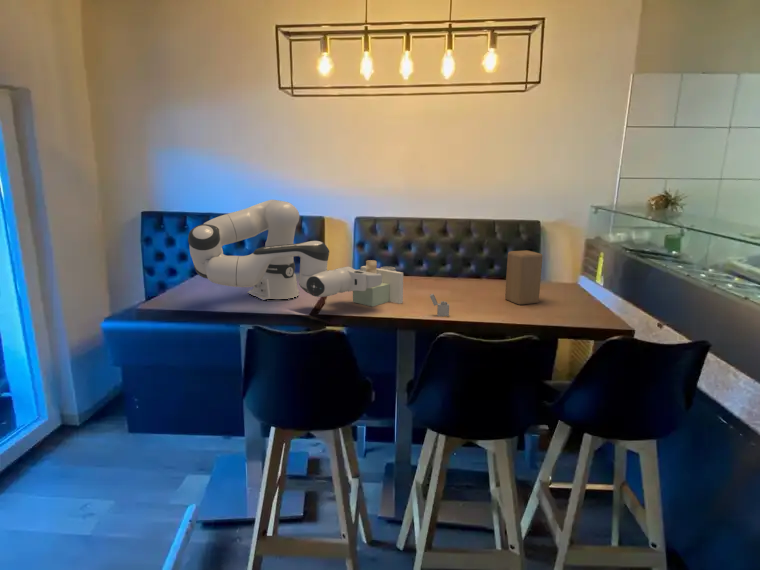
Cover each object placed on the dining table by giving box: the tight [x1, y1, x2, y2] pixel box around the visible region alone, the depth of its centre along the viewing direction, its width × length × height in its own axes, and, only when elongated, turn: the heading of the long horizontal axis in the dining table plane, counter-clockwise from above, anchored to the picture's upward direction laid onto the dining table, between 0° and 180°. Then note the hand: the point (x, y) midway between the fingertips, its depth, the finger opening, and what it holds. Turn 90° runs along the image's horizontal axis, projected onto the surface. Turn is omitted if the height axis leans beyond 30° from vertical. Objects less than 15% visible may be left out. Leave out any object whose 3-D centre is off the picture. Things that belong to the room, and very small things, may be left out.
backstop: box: [360, 265, 404, 304], centre depth 195 cm, size 20×21×13 cm
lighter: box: [429, 293, 450, 317], centre depth 185 cm, size 7×2×8 cm, turn 81°
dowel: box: [365, 259, 378, 273], centre depth 197 cm, size 4×4×15 cm
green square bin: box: [352, 283, 389, 308], centre depth 198 cm, size 10×10×7 cm
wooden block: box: [504, 249, 544, 306], centre depth 204 cm, size 10×10×20 cm
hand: (370, 273), depth 196 cm, fingers open, 8 cm apart
